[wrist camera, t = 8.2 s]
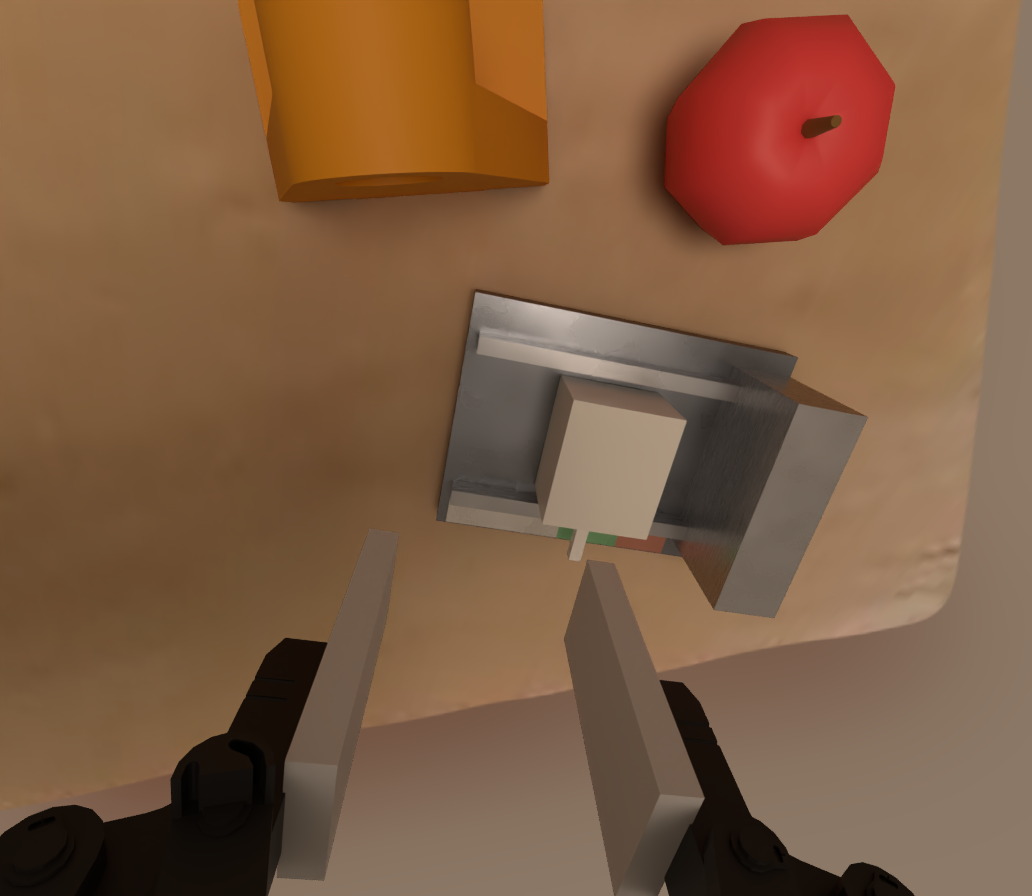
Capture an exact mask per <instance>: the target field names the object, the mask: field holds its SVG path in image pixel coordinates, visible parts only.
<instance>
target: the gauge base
mask: <svg viewBox="0 0 1032 896" xmlns="http://www.w3.org/2000/svg"><path fill="white" fill-rule="evenodd" d="M797 359H798V358H797V357H795V356H793V355H791V354H788V353H786V352H782V351H777V350H772V349H767V348H762V347H757V346H752V345H747V344H742V343H738V342H733V341H728V340H723V339H718V338H713V337H708V336H703V335H698V334H694V333H689V332H684V331H679V330H674V329H669V328H664V327H659V326H654V325H650V324H645V323H640V322H635V321H630V320H625V319H620V318H615V317H610V316H606V315H601V314H596V313H591V312H586V311H581V310H576V309H571V308H566V307H562V306H557V305H552V304H547V303H542V302H537V301H532V300H527V299H522V298H518V297H513V296H508V295H503V294H498V293H493V292H488V291H483V290H478V289H476V291H475V297H474V302H473V308H472V314H471V320H470V326H469V331H468V337H467V343H466V349H465V355H464V361H463V366H462V372H461V378H460V384H459V390H458V395H457V401H456V407H455V413H454V419H453V425H452V430H451V436H450V442H449V448H448V454H447V459H446V465H445V471H444V477H443V483H442V488H441V494H440V500H439V506H438V512H437V519H436V520H437V521H444V522H451V523H458V524H464V525H471V526H478V527H484V528H491V529H498V530H505V531H511V532H518V533H525V534H532V535H538V536H545V537H552V538H559V539H565V540H571V537H572V534H573V530H574V529H571V528H564V527H557V526H551V525H544V524H542V520H541V515H540V510H539V505H538V500H537V495H536V490H535V481H536V477H537V473H538V469H539V464H540V460H541V456H542V452H543V448H544V444H545V440H546V435H547V431H548V427H549V423H550V419H551V415H552V411H553V406H554V402H555V398H556V394H557V390H558V386H559V382H560V377H561V375H564V376H569V377H575V378H580V379H585V380H591V381H596V382H601V383H607V384H612V385H617V386H622V387H628V388H633V389H638V390H644V391H649V392H654V393H659V394H660V395H661V396H662V397H663V398H664V399H665V400H666V401H667V402H668V403H669V404H670V405H671V406H672V407H673V408H675V409H676V410H677V411H678V412H679V413H680V414H681V415H682V416H683V417H684V418H685V419H686V420H687V422H686V425H685V428H684V431H683V434H682V437H681V439H680V442H679V445H678V448H677V451H676V454H675V457H674V460H673V463H672V466H671V469H670V472H669V475H668V478H667V481H666V484H665V487H664V490H663V493H662V496H661V498H660V501H659V504H658V507H657V510H656V513H655V516H654V519H653V522H652V525H651V528H650V531H649V534H648V537H647V540H643V539H637V538H630V537H624V536H617V535H610V534H604V533H597V532H591V531H589V533H588V536H587V539H586V543H592V544H599V545H606V546H612V547H619V548H626V549H633V550H639V551H646V552H653V553H660V554H666V555H673V556H680V557H683V559H684V561H685V562H686V564H687V566H688V567H689V569H690V571H691V572H692V574H693V576H694V577H695V579H696V581H697V582H698V584H699V586H700V588H701V589H702V591H703V593H704V594H705V596H706V598H707V599H708V601H709V603H710V604H711V606H712V608H713V609H714V610H718V611H725V612H732V613H740V614H747V615H754V616H762V617H769V618H775V616H776V613H777V611H778V609H779V607H780V605H781V603H782V601H783V598H784V596H785V594H786V592H787V590H788V588H789V586H790V584H791V581H792V579H793V577H794V575H795V573H796V571H797V569H798V566H799V564H800V562H801V560H802V558H803V556H804V554H805V551H806V549H807V547H808V545H809V543H810V541H811V539H812V536H813V534H814V532H815V530H816V528H817V526H818V524H819V521H820V519H821V517H822V515H823V513H824V511H825V509H826V506H827V504H828V502H829V500H830V498H831V496H832V494H833V491H834V489H835V487H836V485H837V483H838V481H839V479H840V476H841V474H842V472H843V470H844V468H845V466H846V464H847V461H848V459H849V457H850V455H851V453H852V451H853V449H854V446H855V444H856V442H857V440H858V438H859V436H860V434H861V431H862V429H863V427H864V425H865V423H866V421H867V419H868V417H867V416H865V415H863V414H861V413H859V412H857V411H855V410H853V409H851V408H849V407H847V406H845V405H843V404H841V403H840V402H838V401H836V400H834V399H832V398H830V397H828V396H826V395H824V394H822V393H820V392H818V391H816V390H814V389H812V388H810V387H808V386H806V385H804V384H802V383H800V382H798V381H796V380H795V379H793V378H791V377H790V376H791V374H792V371H793V369H794V366H795V364H796V361H797Z"/></svg>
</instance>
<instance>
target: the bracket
mask: <svg viewBox="0 0 1032 896" xmlns="http://www.w3.org/2000/svg"><path fill="white" fill-rule="evenodd" d="M238 6H239V11H240V16H241V21H242V26H243V30H244V35H245V40H246V45H247V49H248V54H249V59H250V64H251V68H252V73H253V78H254V83H255V87H256V92H257V97H258V102H259V106H260V111H261V116H262V121H263V125H264V130H265V135H266V140H267V145H268V149H269V154H270V159H271V164H272V168H273V173H274V178H275V183H276V187H277V192H278V197H279V201H283V202H309V201H323V200H338V199H353V198H356V199H365V198H380V197H395V196H410V195H425V194H439V193H454V192H469V191H484V190H486V189H501V188H515V187H530V186H544V185H546V184H548V183H549V164H548V137H547V109H546V82H545V55H544V27H543V0H238Z"/></svg>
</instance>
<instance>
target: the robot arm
mask: <svg viewBox="0 0 1032 896" xmlns="http://www.w3.org/2000/svg"><path fill="white" fill-rule="evenodd" d="M398 538H399V533H398V532H391V531H384V530H377V529H370V528H369V531H368V534H367V537H366V539H365V542H364V545H363V548H362V550H361V553H360V556H359V559H358V561H357V564H356V567H355V570H354V572H353V575H352V578H351V581H350V583H349V586H348V589H347V592H346V594H345V597H344V600H343V603H342V605H341V608H340V611H339V614H338V616H337V619H336V622H335V625H334V627H333V630H332V633H331V636H330V638H329V641H328V643H326V642H317V641H309V640H300V639H291V638H285V639H284V640H282V641H281V642H280V643H279V644H278V645H277V646H276V647H274V648H273V649H272V650H271V651H270V652H269V653H268V654H266V656H265V658H264V660H263V662H262V664H261V666H260V668H259V670H258V672H257V674H256V676H255V680H254V681H253V682H252V684H251V686H250V688H249V690H248V692H247V694H246V698H245V699H244V700H243V702H242V704H241V706H240V708H239V710H238V712H237V714H236V716H235V718H234V720H233V722H232V724H231V726H230V728H229V730H228V732H227V733H225V734H221V735H217V736H214V737H211V738H209V739H207V740H206V741H204V742H202V743H200V744H198V745H197V746H195V747H193V748H192V749H191V750H190V751H189V752H188V753H187V754H186V755H185V756H184V757H183V758H182V759H181V760H180V761H179V763H178V765H177V767H176V769H175V771H174V773H173V775H172V777H171V802H172V803H171V804H169V805H167V806H165V807H163V808H161V809H157V810H155V811H151V812H148V813H145V814H140V815H136V816H131V817H127V818H123V819H118V820H113V821H109V822H104V823H103V820H102V819H101V818H100V817H99V816H98V815H97V814H96V813H95V812H94V811H93V810H92V809H89V808H85V807H82V806H78V805H70V806H59V807H52V808H50V809H47V810H44V811H42V812H39V813H37V814H34V815H31V816H28V817H27V818H25V819H24V820H22V821H21V822H20V823H18V824H16V825H15V826H13V827H11V828H10V829H8V830H7V831H5V832H4V833H3V834H2V835H1V836H0V896H268V893H269V890H270V887H271V884H272V881H273V878H274V875H275V871H276V868H277V865H278V868H277V878H289V879H305V880H322V881H324V878H325V874H326V870H327V866H328V862H329V858H330V853H331V850H332V845H333V841H334V837H335V833H336V828H337V824H338V820H339V816H340V812H341V808H342V803H343V799H344V795H345V790H346V787H347V782H348V778H349V774H350V770H351V766H352V762H353V757H354V753H355V749H356V745H357V741H358V737H359V732H360V728H361V724H362V720H363V716H364V711H365V707H366V703H367V699H368V695H369V690H370V686H371V682H372V678H373V674H374V670H375V665H376V661H377V657H378V653H379V649H380V644H381V640H382V636H383V632H384V628H385V624H386V619H387V614H388V607H389V600H390V593H391V586H392V579H393V573H394V566H395V559H396V552H397V545H398ZM564 642H565V647H566V652H567V657H568V662H569V667H570V672H571V678H572V683H573V688H574V692H575V698H576V703H577V708H578V713H579V718H580V724H581V729H582V734H583V739H584V744H585V749H586V754H587V759H588V765H589V769H590V775H591V780H592V785H593V790H594V795H595V800H596V805H597V811H598V816H599V821H600V826H601V831H602V836H603V841H604V846H605V851H606V857H607V862H608V867H609V872H610V876H611V882H612V887H613V892H614V896H658V894H659V892H660V890H661V888H662V886H663V884H664V882H665V883H666V886H667V890H668V893H669V896H914V894H913V893H912V892H911V891H910V890H909V889H908V888H907V887H906V886H904V885H903V884H902V883H901V882H900V881H899V880H898V879H897V878H895V877H894V876H892V875H891V874H889V873H888V872H886V871H884V870H883V869H881V868H879V867H877V866H874V865H870V864H866V863H863V862H861V863H855V864H851V865H850V866H849V867H848V869H847V870H846V871H845V872H844V874H843V875H842V877H839V876H836V875H834V874H832V873H829V872H827V871H825V870H822V869H820V868H817V867H815V866H813V865H810V864H808V863H805V862H803V861H800V860H799V859H797V858H795V857H793V856H791V855H789V854H788V851H787V849H786V847H785V846H784V845H783V844H782V842H781V841H780V840H779V838H778V837H777V836H776V834H775V833H774V832H773V831H771V830H770V829H769V828H768V827H767V826H765V825H764V824H763V823H762V822H761V821H759V820H757V819H755V818H753V817H752V816H751V814H750V812H749V810H748V808H747V806H746V804H745V801H744V799H743V797H742V795H741V793H740V790H739V788H738V786H737V784H736V781H735V779H734V777H733V775H732V773H731V770H730V768H729V766H728V764H727V762H726V759H725V757H724V755H723V753H722V751H721V748H720V746H718V745H717V739H716V737H715V735H714V733H713V730H712V728H710V727H709V722H708V719H707V717H706V716H705V713H704V711H703V708H702V706H701V704H700V702H699V701H698V700H697V698H696V697H695V696H694V695H693V694H692V693H691V692H690V690H689V689H688V688H687V687H686V686H685V685H684V684H683V683H681V682H673V681H664V680H659V678H658V676H657V673H656V670H655V668H654V665H653V663H652V660H651V657H650V655H649V652H648V650H647V647H646V645H645V642H644V639H643V637H642V634H641V632H640V629H639V626H638V624H637V621H636V619H635V616H634V613H633V611H632V608H631V606H630V603H629V600H628V598H627V595H626V593H625V590H624V587H623V585H622V582H621V580H620V577H619V574H618V572H617V569H616V567H615V564H613V563H606V562H599V561H592V560H587V563H586V567H585V570H584V573H583V577H582V580H581V583H580V587H579V590H578V594H577V597H576V600H575V604H574V607H573V610H572V614H571V617H570V620H569V624H568V627H567V630H566V634H565V637H564Z"/></svg>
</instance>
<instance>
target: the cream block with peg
mask: <svg viewBox="0 0 1032 896" xmlns="http://www.w3.org/2000/svg"><path fill="white" fill-rule="evenodd" d="M686 422H687V420H686V419H685V418H684V417H683V416H682V415H681V414H680V413H679V412H678V411H677V410H676V409H675V408H673V407H672V406H671V405H670V404H669V403H668V402H667V401H666V400H665V399H664V398H663V397H662V396H661V395H660V394H659V393H654V392H649V391H644V390H638V389H633V388H628V387H622V386H617V385H612V384H607V383H601V382H596V381H591V380H585V379H580V378H575V377H569V376H564V375H561V377H560V382H559V386H558V390H557V394H556V398H555V402H554V406H553V411H552V415H551V419H550V423H549V427H548V431H547V435H546V440H545V444H544V448H543V452H542V456H541V460H540V464H539V469H538V473H537V477H536V481H535V490H536V495H537V500H538V505H539V510H540V515H541V520H542V524H544V525H551V526H557V527H564V528H571V529H574V530H573V534H572V537H571V541H570V544H569V548H568V552H567V555H568V559H569V560H573V561H580V560H581V557H582V553H583V550H584V546H585V543H586V539H587V536H588V533H589V531H591V532H597V533H604V534H610V535H617V536H624V537H630V538H637V539H643V540H647V537H648V534H649V531H650V528H651V525H652V522H653V519H654V516H655V513H656V510H657V507H658V504H659V501H660V498H661V496H662V493H663V490H664V487H665V484H666V481H667V478H668V475H669V472H670V469H671V466H672V463H673V460H674V457H675V454H676V451H677V448H678V445H679V442H680V439H681V437H682V434H683V431H684V428H685V425H686Z"/></svg>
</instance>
